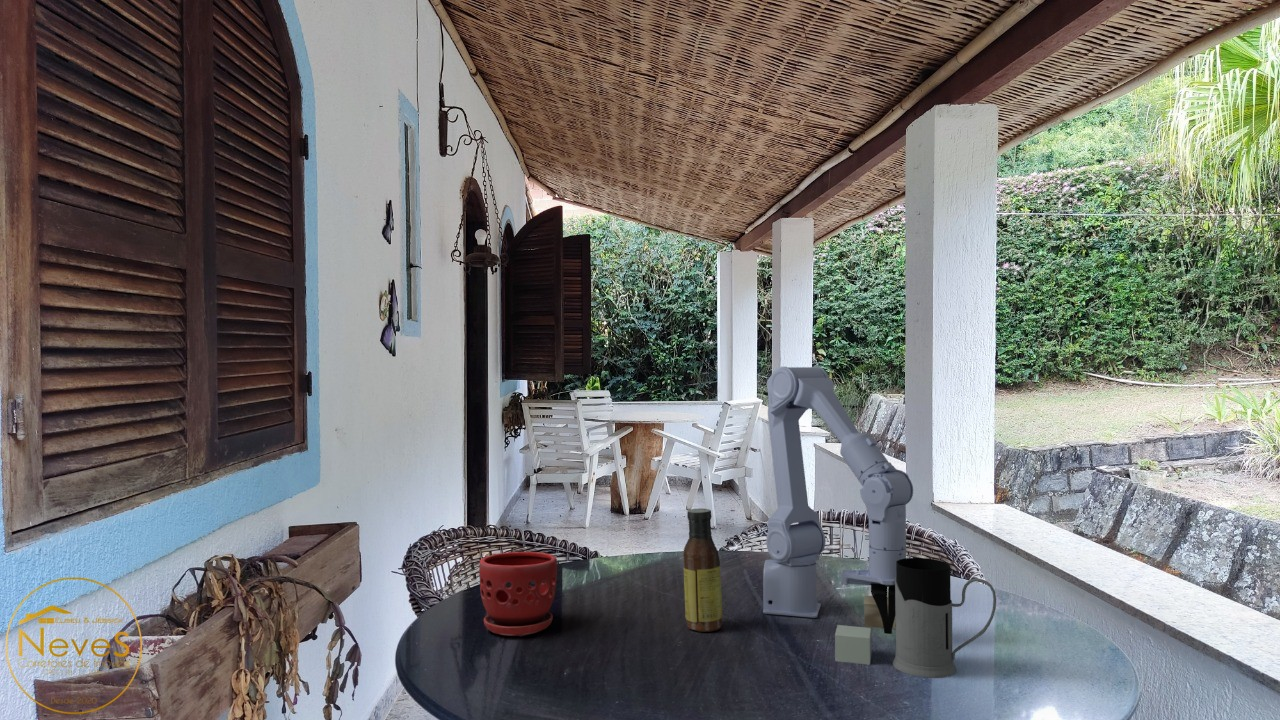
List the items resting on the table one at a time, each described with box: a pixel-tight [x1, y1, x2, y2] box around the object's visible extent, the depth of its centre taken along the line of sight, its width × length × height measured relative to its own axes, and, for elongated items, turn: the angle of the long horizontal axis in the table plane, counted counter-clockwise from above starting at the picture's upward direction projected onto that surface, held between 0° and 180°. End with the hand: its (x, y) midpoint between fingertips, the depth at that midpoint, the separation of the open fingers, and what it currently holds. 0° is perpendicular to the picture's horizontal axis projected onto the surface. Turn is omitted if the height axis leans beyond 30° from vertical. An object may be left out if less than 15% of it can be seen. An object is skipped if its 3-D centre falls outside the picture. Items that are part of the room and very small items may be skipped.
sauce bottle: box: [682, 507, 723, 633], centre depth 136 cm, size 7×6×20 cm
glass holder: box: [892, 557, 997, 679], centre depth 116 cm, size 9×14×15 cm, turn 60°
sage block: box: [834, 624, 872, 666], centre depth 121 cm, size 5×5×4 cm
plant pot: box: [478, 551, 558, 638], centre depth 136 cm, size 13×13×12 cm
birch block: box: [863, 595, 896, 630], centre depth 137 cm, size 5×5×4 cm
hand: (888, 632), depth 128 cm, fingers closed
